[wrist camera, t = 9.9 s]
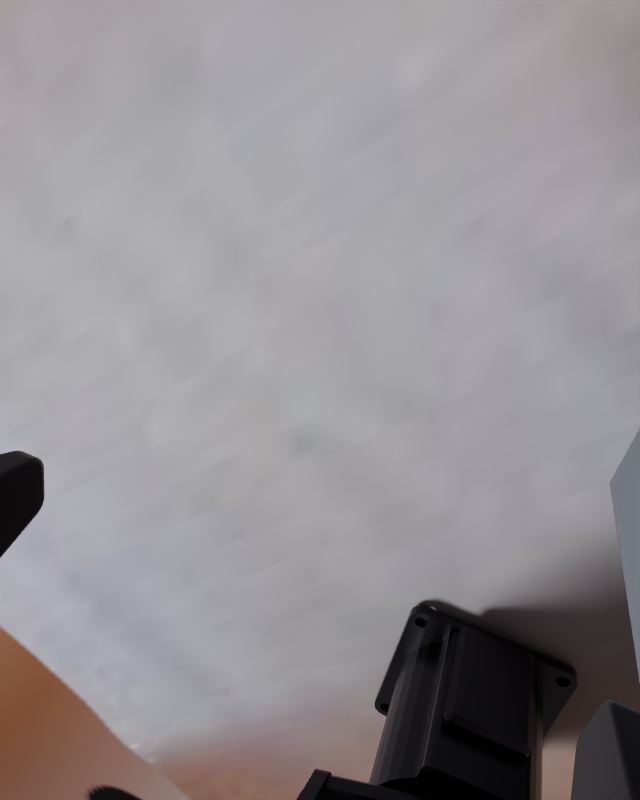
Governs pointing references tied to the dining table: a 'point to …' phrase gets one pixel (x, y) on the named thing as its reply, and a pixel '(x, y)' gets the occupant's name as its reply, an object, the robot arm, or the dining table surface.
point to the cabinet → (629, 532)
